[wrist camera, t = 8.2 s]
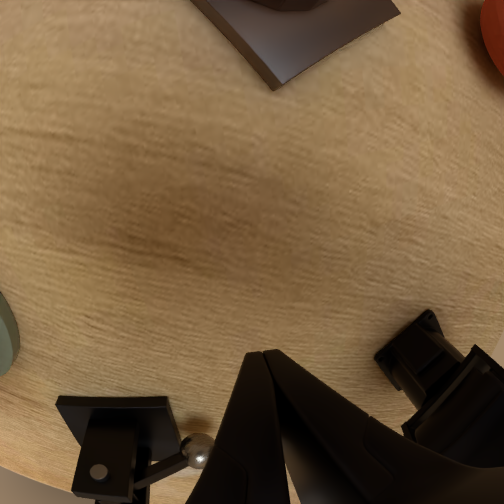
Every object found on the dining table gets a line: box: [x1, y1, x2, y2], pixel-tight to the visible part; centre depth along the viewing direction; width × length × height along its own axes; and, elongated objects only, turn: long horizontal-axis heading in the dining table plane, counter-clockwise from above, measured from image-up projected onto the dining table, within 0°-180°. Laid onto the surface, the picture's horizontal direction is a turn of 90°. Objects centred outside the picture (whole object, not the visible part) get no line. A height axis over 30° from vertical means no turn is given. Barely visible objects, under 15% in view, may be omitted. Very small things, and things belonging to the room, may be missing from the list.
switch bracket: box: [55, 396, 182, 504], centre depth 19 cm, size 10×8×9 cm
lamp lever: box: [98, 433, 215, 504], centre depth 19 cm, size 11×3×3 cm, turn 93°
